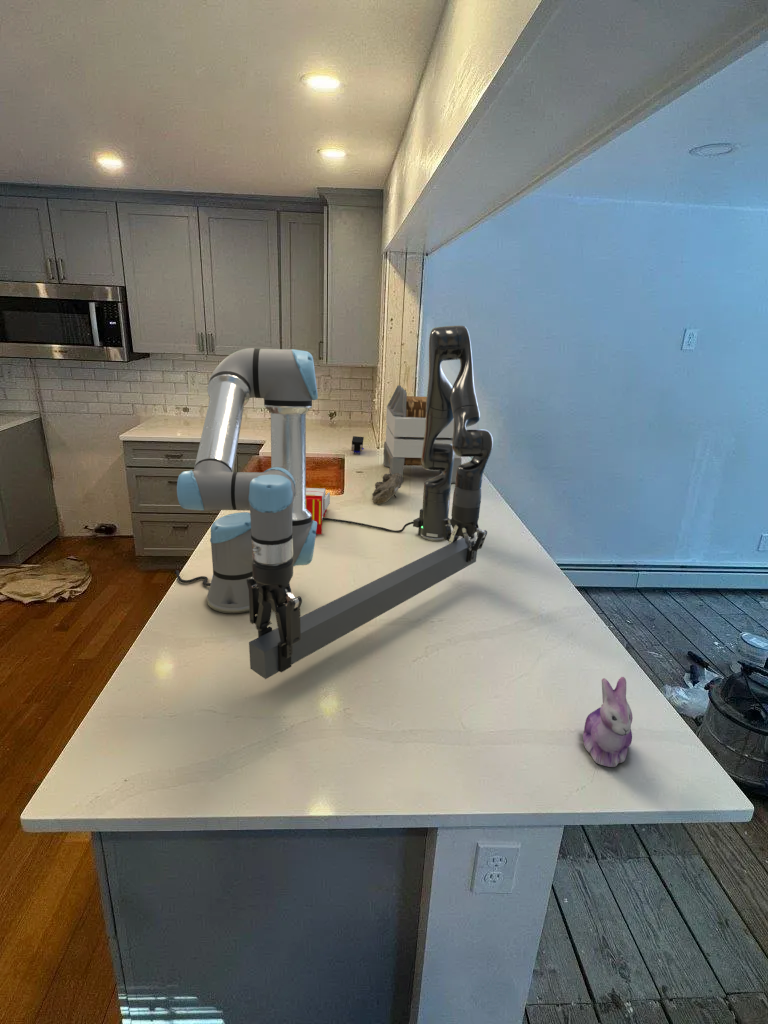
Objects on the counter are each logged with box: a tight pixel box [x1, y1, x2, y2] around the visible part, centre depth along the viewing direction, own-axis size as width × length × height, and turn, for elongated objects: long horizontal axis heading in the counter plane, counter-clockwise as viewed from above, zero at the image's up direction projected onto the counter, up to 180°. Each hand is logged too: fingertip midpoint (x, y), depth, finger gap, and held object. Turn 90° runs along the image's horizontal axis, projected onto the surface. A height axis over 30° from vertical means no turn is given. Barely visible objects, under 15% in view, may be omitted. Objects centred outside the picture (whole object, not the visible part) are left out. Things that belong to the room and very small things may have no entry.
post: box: [248, 537, 478, 680], centre depth 136 cm, size 75×5×6 cm, turn 139°
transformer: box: [383, 384, 463, 484], centre depth 268 cm, size 34×33×41 cm
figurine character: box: [350, 435, 364, 455], centre depth 308 cm, size 7×8×15 cm
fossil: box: [371, 472, 404, 505], centre depth 236 cm, size 22×10×15 cm
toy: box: [306, 487, 331, 535], centre depth 207 cm, size 12×13×30 cm
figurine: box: [582, 676, 633, 768], centre depth 102 cm, size 9×10×15 cm
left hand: (275, 662), depth 114 cm, fingers closed on post, 5 cm apart
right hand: (460, 558), depth 160 cm, fingers closed on post, 5 cm apart
